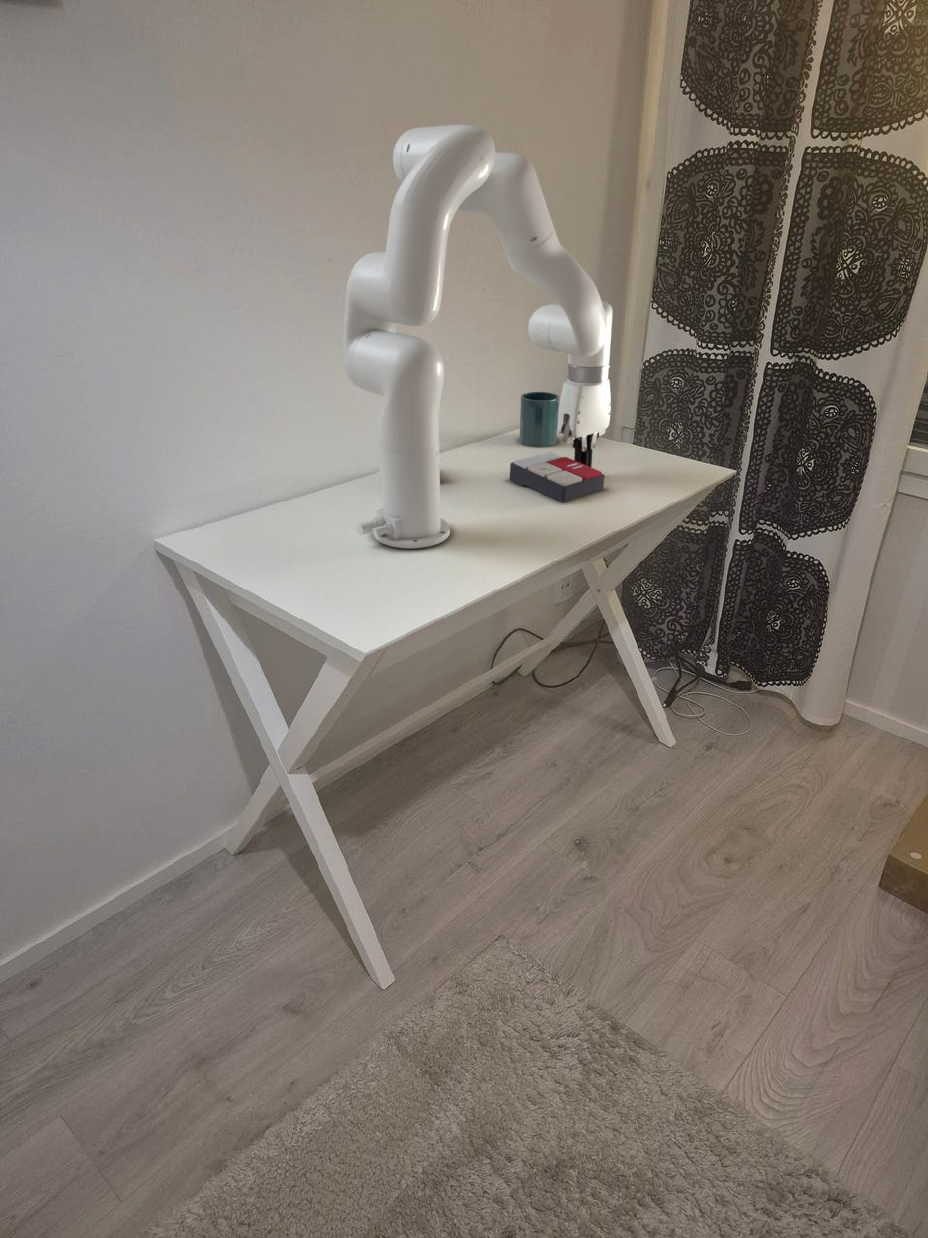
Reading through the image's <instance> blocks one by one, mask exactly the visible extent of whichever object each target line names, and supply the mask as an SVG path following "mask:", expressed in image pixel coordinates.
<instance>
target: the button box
mask: <svg viewBox="0 0 928 1238" xmlns="http://www.w3.org/2000/svg"><path fill="white" fill-rule="evenodd" d="M605 478H606V475H605V474H604V473H603V472H602V471H600V470H598V469H596V468H593V467H589V466H586V465H584V464H582V463H579V462H577V461H575V460H574V459H572V458H570V457H567V456H563V455H560V454H558V453H556V452H554V451H548V452H544V453H540V454H537V455H532V456H529V457H524V458H521V459H518V460H515V461H513V462H512V461H511V462H510V466H509V481H510V482H512V483H514V484H516V485H518V486H521V487H523V486H526V487H528V488H531V489H532V490H535V491H537V492H540V493H542V494H544V495H546V496H548V497H550V498H552V499H554V500H556V501H558V502H560V503H566V502H569V501H572V500H575V499H578V498H582V497H584V496H588V495H591V494H594V493H597V492H600V491H603V490H604V486H605Z"/></svg>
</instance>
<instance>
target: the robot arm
mask: <svg viewBox="0 0 928 1238" xmlns="http://www.w3.org/2000/svg"><path fill="white" fill-rule="evenodd" d="M392 165H393V170H394V173H395V175H396V178H397V180H398V181H399V183H400V186H399V187H398V189H397V192H396V194H395V196H394V199H393V201H392V205H391V208H390V213H389V221H388V229H387V237H386V247H385V252H384V251H375V252H370V253H367V254H365V255H363V256H362V257H361V258H359V260H357V262H356V263H355V264H354V266H353V268H352V269H351V271H350V274H349V277H348V280H347V284H346V290H345V291H346V292H345V301H344V302H345V303H344V320H343V321H344V324H343V344H342V351H343V352H342V358H343V359H342V360H343V365H344V370H345V372H346V375H347V377H348V378H349V380H350V381H351V383H353V385H354V386H356V387H358V388H359V389H362V390H364V391H365V392H366V391H367V392H370V393H372V394H376V395H379V396H382V397H384V404H383V407H382V410H381V412H380V415H379V419H378V425H377V439H378V440H377V441H378V452H379V455H378V456H379V471H380V472H379V473H380V489H381V491H380V492H381V509H377V510H376V516H374V517H373V518H372V520H366V521H362V522H358V523H357V525H356V530H357V533H358V534H359V535H360V536H364V535H367V534H370V533H372V534H373V537H374V538H375V539H376V540H377V541H378V542H379V543H381V544H383V545H384V546H388V547H392V548H398V549H410V550H411V549H422V548H429V547H432V546H435V545H438V544H441V543H443V542H444V541H446V540H447V539H448V538H449V536H450V534H451V526H450V523H448V522H447V521H446V520H445V519H443V518H441V475H440V474H441V472H440V471H441V470H440V468H441V467H440V466H441V465H440V464H441V463H440V409H441V408H440V407H441V399H442V393H443V388H444V383H445V363H444V360H443V358H442V355H441V354H440V352H439V350H438V349H437V348H436V347H435V346H434V345H433V344H431V343H430V342H429V341H427V340H425V339H423V338H420V337H418V336H413V335H411V334H410V335H409V334H404V333H400V332H397V330H398V329H397V328H398V325H403V326H409V327H423V326H426V325H429V324H430V323H432V322H433V321H434V320H435V319H436V317H437V316H438V314H439V312H440V309H441V304H442V299H443V288H444V279H445V269H446V259H447V247H448V241H449V240H448V239H449V234H450V228H451V224H452V222H453V219H454V217H455V214H456V213H457V211H458V212H462V213H466V214H472V215H486V216H487V215H488V216H489V217H490V218H491V221H492V223H493V226H494V228H495V230H496V233H497V235H498V238H499V240H500V243H501V246H502V248H503V250H504V253H505V256H506V259H507V261H508V264H509V267H510V268H511V269H512V271H514V272H515V273H516V274H517V275H518V276H520V277H521V278H522V279H524V280H525V281H527V282H528V283H530V284H531V285H533V286H535V287H537V288H539V290H542V291H543V292H545V294H547V295H549V296H550V297H551V298H552V300H554V301H555V302H556V303H557V304H555V303H554V304H553V303H552V304H546V305H543V306H540V307H539V308H538V309H537V310H535V311H534V312H533V313H532V314H531V316H530V318H529V321H528V324H527V332H528V337H529V338H530V341H531V342H532V343H533V344H534V345H536V346H537V347H538V348H540V349H543V350H546V351H552V352H557V353H564V354H567V372H566V373H567V374H566V375H567V376H566V378H567V379H566V381H563V385H562V390H561V393H560V398H559V407H558V424H557V433H559V434H562V440H561V442H562V444H565V445H569V446H570V445H571V447H572V449H574V459H573V460H575V461H577V462H579V463H582V464H584V465H586V466H589V467H591V468H593V450H594V449H595V448H596V445H597V442H598V439H599V437H602V436H603V435H605V434H606V432H607V428H609V426H610V420H611V410H612V409H611V408H612V407H611V405H612V402H611V401H612V399H611V383H610V379H609V375H610V374H609V371H610V369H611V368H610V367H611V364H610V357H611V345H612V344H611V343H612V342H611V341H612V327H613V307H612V305H611V304H610V303H609V302H607V301H604V300H602V299H601V296H600V293H599V291H598V288H597V286H596V285H595V283H594V280H593V279H592V277H590V275H589V274H588V273H587V271H586V270H585V269H584V268H583V267H582V266H581V265H580V264H579V262H578V261H577V260H576V259H575V258H574V257H573V255H572V254H570V252H569V251H568V250H567V249H566V248H564V246H563V245H562V244H561V243H560V240H559V237H558V235H557V232H556V229H555V225H554V223H553V219H552V217H551V214H550V210H549V208H548V205H547V202H546V201H547V200H546V198H545V195H544V192H543V189H542V187H541V184H540V180H539V177H538V175H537V172H536V170H535V167H534V165H533V163H532V162H531V161H530V160H529V158H527V157H526V156H525V155H523V154H520V153H517V152H507V151H506V152H500V151H499V152H496V147H495V142H494V139H493V137H492V136H491V135H490V133H489V132H488V131H486V130H485V129H484V128H482V127H480V126H476V125H471V124H446V125H445V124H444V125H435V126H421V127H420V126H419V127H414V128H411V129H409V130H407V131H405V132H404V133H403V134H401V136H399V138H398V140H397V141H396V143H395V145H394V148H393V152H392Z"/></svg>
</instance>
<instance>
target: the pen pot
mask: <svg viewBox="0 0 928 1238" xmlns="http://www.w3.org/2000/svg"><path fill="white" fill-rule="evenodd" d="M559 405H560V395H558V394H557V393H553V392H548V391H530V392H525V393H522V394H521V396H520V412H519V414H520V415H519V416H520V417H519V443H520V444H522V445H524V446H528V447H532V448H533V447H534V448H547V447H550V446H554V445H556V444H557V441H558V439H557V438H558V414H559Z"/></svg>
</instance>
